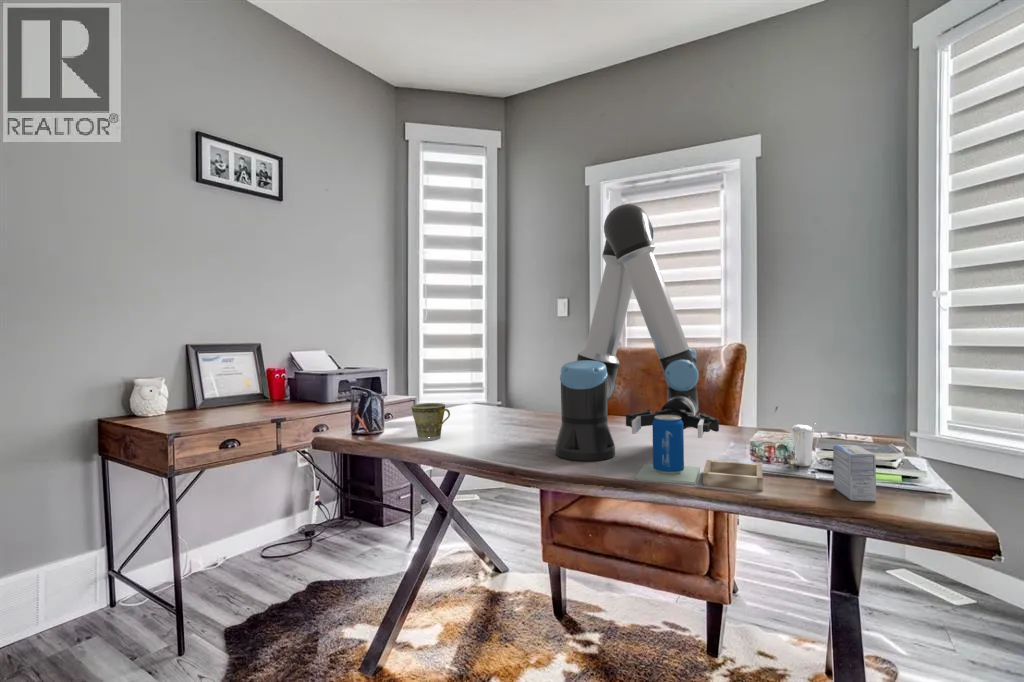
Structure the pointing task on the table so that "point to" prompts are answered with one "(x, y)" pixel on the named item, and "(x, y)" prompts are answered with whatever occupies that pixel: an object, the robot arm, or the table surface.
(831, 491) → the table surface
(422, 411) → the ceramic cup
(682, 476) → the mat
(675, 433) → the beverage can
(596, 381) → the robot arm
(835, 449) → the medicine box
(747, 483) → the crate
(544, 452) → the table surface
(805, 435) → the milkshake
